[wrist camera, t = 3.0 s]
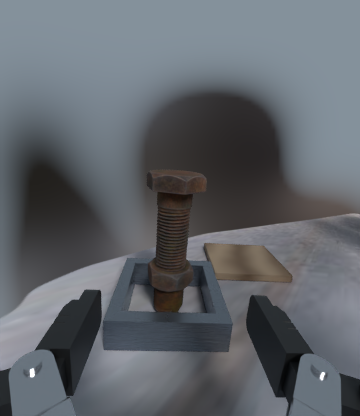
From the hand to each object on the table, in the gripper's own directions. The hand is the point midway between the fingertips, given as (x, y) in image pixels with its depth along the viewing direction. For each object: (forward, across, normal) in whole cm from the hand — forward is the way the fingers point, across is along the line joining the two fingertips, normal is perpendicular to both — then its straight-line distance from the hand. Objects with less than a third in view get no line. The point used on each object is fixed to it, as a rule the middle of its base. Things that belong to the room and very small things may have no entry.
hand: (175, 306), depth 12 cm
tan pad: (+22, -12, +9) cm, 27 cm away
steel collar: (+11, 0, +9) cm, 14 cm away
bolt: (+11, 0, +9) cm, 14 cm away
